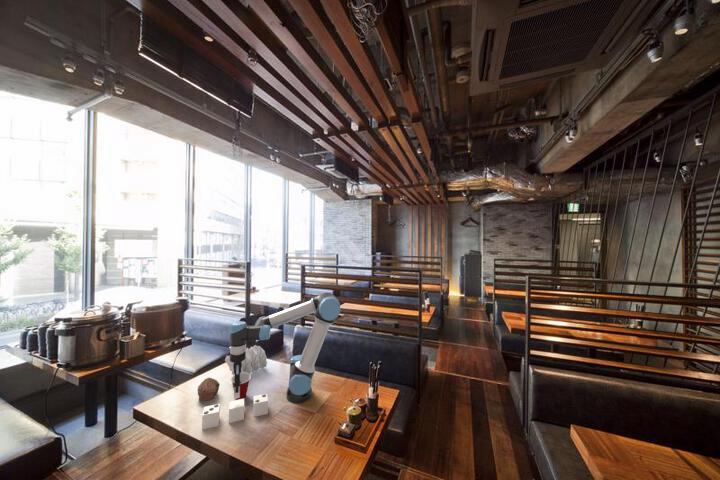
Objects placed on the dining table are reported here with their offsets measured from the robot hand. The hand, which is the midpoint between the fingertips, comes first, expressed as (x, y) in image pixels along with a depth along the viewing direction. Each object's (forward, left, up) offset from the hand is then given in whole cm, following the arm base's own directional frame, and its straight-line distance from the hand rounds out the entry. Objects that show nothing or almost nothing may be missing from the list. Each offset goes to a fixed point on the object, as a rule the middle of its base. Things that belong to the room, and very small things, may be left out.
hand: (236, 397), depth 137 cm
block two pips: (-10, -6, -10) cm, 16 cm away
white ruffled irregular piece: (+17, -42, -10) cm, 46 cm away
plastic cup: (+7, -16, -10) cm, 20 cm away
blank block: (0, 0, -10) cm, 10 cm away
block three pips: (+10, +6, -10) cm, 15 cm away
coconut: (+26, -14, -10) cm, 31 cm away
